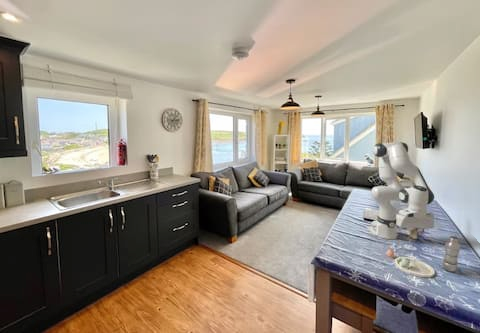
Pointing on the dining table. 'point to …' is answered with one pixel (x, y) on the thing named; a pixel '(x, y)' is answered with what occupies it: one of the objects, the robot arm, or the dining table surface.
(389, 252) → the bead
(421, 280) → the dining table surface
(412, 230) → the bead
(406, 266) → the bead
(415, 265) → the tray
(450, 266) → the silver metal bottle
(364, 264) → the dining table surface
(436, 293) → the dining table surface
